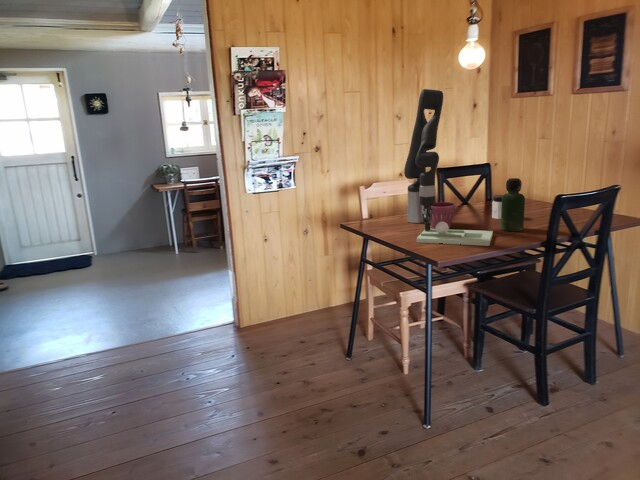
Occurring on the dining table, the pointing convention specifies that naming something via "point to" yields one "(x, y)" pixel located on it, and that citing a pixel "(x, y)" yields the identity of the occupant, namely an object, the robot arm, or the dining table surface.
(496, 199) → the jar
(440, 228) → the ball
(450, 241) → the putting mat
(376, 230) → the dining table surface
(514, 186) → the dark green tall piece
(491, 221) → the dining table surface
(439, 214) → the plant pot
